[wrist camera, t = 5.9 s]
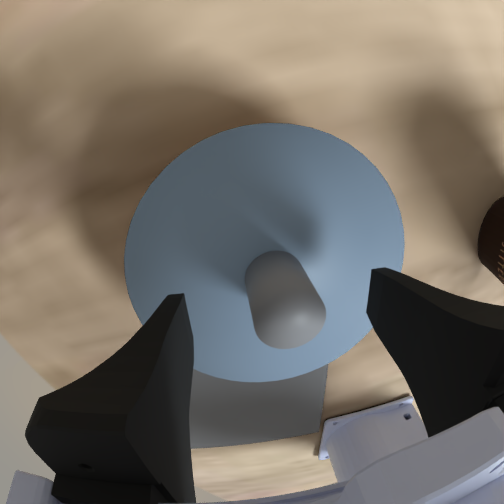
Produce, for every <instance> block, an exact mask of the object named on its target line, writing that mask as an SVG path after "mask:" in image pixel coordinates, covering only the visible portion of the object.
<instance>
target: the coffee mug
mask: <svg viewBox="0 0 504 504" xmlns="http://www.w3.org/2000/svg"><path fill="white" fill-rule="evenodd" d="M478 255H479V258H480V260H481V262H482V264H483V265H484V266H485V267H487V268H488V269H489V270H490V271H491V272H492V273H493V274H494V275H495V276H496V277H497V278H498V279H499V280H500V281H501V282H502V283H503V284H504V197H502V198H500V199H499V200H497V201H496V202H495V203H494V204H493V205H492V206H491V208H490V209H489V211H488V212H487V214H486V216H485V218H484V220H483V223H482V226H481V229H480V233H479V238H478Z"/></svg>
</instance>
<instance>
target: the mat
mask: <svg viewBox="0 0 504 504" xmlns="http://www.w3.org/2000/svg"><path fill="white" fill-rule="evenodd" d="M327 370H328V364H326V365H324V366H322V367H320V368H318V369H316V370H313V371H311V372H308V373H306V374H302V375H299V376H296V377H292V378H288V379H283V380H278V381H268V382H240V381H231V380H226V379H222V378H217V377H214V376H211V375H208V374H205V373H202V372H199V371H197V370H195V369H193V377H192V387H191V397H190V409H189V426H190V446H191V449H194V448H210V447H223V446H233V445H243V444H251V443H258V442H266V441H272V440H278V439H284V438H290V437H296V436H301V435H306V434H311V433H316V432H319V428H320V422H321V415H322V408H323V401H324V394H325V386H326V378H327Z"/></svg>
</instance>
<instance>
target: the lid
mask: <svg viewBox="0 0 504 504" xmlns="http://www.w3.org/2000/svg"><path fill="white" fill-rule="evenodd" d="M403 256H404V229H403V224H402V218H401V213H400V210H399V207H398V205H397V202H396V199H395V196H394V195H393V193H392V191H391V189H390V187H389V185H388V183H387V181H386V180H385V179H384V177H383V176H382V175H381V173H380V172H379V170H378V169H377V168H376V167H375V166H374V165H373V164H372V163H371V162H370V161H369V160H368V159H367V158H366V157H365V156H364V155H363V154H362V153H360V152H359V151H358V150H356V149H355V148H354V147H352V146H351V145H350V144H348V143H346V142H344V141H343V140H341V139H339V138H337V137H335V136H333V135H331V134H328V133H325V132H322V131H320V130H317V129H314V128H310V127H305V126H300V125H294V124H283V123H261V124H253V125H245V126H240V127H237V128H233V129H229V130H226V131H222V132H220V133H218V134H215V135H213V136H211V137H208V138H206V139H204V140H202V141H200V142H199V143H197V144H195V145H194V146H192V147H191V148H189V149H187V150H186V151H184V152H183V153H182V154H181V155H179V156H178V157H177V158H176V159H175V160H173V161H172V162H171V163H170V164H169V165H168V166H167V167H166V168H165V169H164V170H163V171H162V172H161V173H160V174H159V176H158V177H157V178H156V179H155V180H154V181H153V182H152V184H151V185H150V186H149V188H148V190H147V191H146V193H145V194H144V196H143V197H142V199H141V201H140V202H139V204H138V207H137V209H136V211H135V213H134V216H133V218H132V220H131V224H130V227H129V231H128V235H127V239H126V246H125V255H124V266H125V279H126V284H127V289H128V294H129V297H130V299H131V302H132V305H133V308H134V310H135V312H136V314H137V316H138V318H139V319H140V321H141V323H142V325H144V324H145V323H146V321H147V320H148V319H149V318H150V317H151V315H152V314H153V313H154V312H155V310H156V309H157V308H158V306H159V305H160V304H161V303H162V301H163V300H164V299H165V298H166V296H167V295H170V294H180V293H184V295H185V300H186V305H187V310H188V314H189V319H190V324H191V328H192V333H193V337H194V366H193V369H195V370H197V371H199V372H202V373H205V374H208V375H211V376H214V377H217V378H222V379H226V380H231V381H240V382H268V381H278V380H283V379H288V378H292V377H296V376H299V375H302V374H306V373H308V372H311V371H313V370H316V369H318V368H320V367H322V366H324V365H326V364H328V363H330V362H332V361H334V360H335V359H337V358H338V357H340V356H341V355H343V354H344V353H346V352H347V351H348V350H350V349H351V348H352V347H353V346H355V345H356V344H357V343H358V342H359V341H360V340H361V339H362V338H363V337H364V336H365V335H366V334H367V333H368V332H369V331H370V330H371V329H372V328H373V326H372V324H371V322H370V320H369V318H368V315H367V313H366V309H367V302H368V294H369V286H370V278H371V269H376V268H382V267H386V268H389V269H392V270H395V271H398V272H400V273H401V269H402V264H403Z"/></svg>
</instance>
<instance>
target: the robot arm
mask: <svg viewBox="0 0 504 504" xmlns="http://www.w3.org/2000/svg"><path fill="white" fill-rule="evenodd" d="M366 313H367V315H368V318H369V320H370V322H371V324H372V326H373V328H374V330H375V332H376V334H377V335H378V337H379V338H380V340H381V341H382V343H383V344H384V346H385V348H386V349H387V351H388V352H389V354H390V355H391V357H392V358H393V360H394V361H395V363H396V364H397V366H398V367H399V369H400V370H401V372H402V374H403V376H404V377H405V379H406V381H407V383H408V386H409V388H410V390H411V392H412V394H413V396H414V399H415V401H416V404H417V406H418V409H419V411H420V414H421V417H422V420H423V422H422V420H421V418H420V416H419V415H418V413H417V412H416V410H415V408H414V407H413V405H412V402H413V397H412V396H408V397H405V398H402V399H399V400H396V401H393V402H390V403H386V404H383V405H380V406H377V407H373V408H370V409H366V410H363V411H359V412H355V413H351V414H348V415H344V416H340V417H335V418H331V419H328V420H326V421H325V423H324V428H323V433H322V439H321V444H320V449H319V454H318V458H319V460H324V459H329V458H330V461H331V464H332V467H333V469H334V472H335V475H336V478H337V481H338V483H336V484H332V485H328V486H324V487H319V488H315V489H310V490H306V491H301V492H296V493H290V494H285V495H279V496H272V497H265V498H258V499H250V500H240V501H229V502H214V503H196V497H195V490H194V481H193V471H192V460H191V446H190V426H189V409H190V397H191V387H192V377H193V366H194V337H193V333H192V328H191V324H190V319H189V314H188V310H187V305H186V300H185V295H184V293H180V294H170V295H167V296H166V298H165V299H164V300H163V301H162V303H161V304H160V305H159V306H158V308H157V309H156V310H155V312H154V313H153V314H152V315H151V317H150V318H149V319H148V320H147V321H146V323H145V324H144V325H143V326H142V327H141V328H140V329H139V330H138V331H137V333H136V334H135V335H134V336H133V337H132V338H131V339H130V340H129V341H128V342H127V343H126V344H125V345H124V346H123V347H122V348H121V349H119V350H118V351H117V352H116V353H115V354H114V355H112V356H111V357H110V358H109V359H107V360H106V361H105V362H103V363H102V364H100V365H99V366H98V367H96V368H95V369H94V370H92V371H91V372H89V373H87V374H86V375H84V376H83V377H81V378H79V379H78V380H76V381H74V382H72V383H70V384H68V385H67V386H65V387H63V388H60V389H58V390H56V391H54V392H52V393H49V394H47V395H45V396H42V397H40V398H39V399H38V401H37V404H36V406H35V409H34V411H33V413H32V416H31V418H30V421H29V423H28V426H27V428H26V432H25V437H26V439H27V441H28V444H29V445H30V447H31V448H32V449H33V450H34V452H35V453H36V454H37V455H38V456H39V457H40V458H41V459H42V460H43V461H44V462H45V463H46V464H47V465H48V466H49V467H50V468H51V469H52V470H53V471H54V472H55V473H56V475H55V479H54V482H53V481H51V480H49V479H47V478H44V477H42V476H38V475H34V474H30V473H26V472H23V471H19V470H17V471H16V472H15V475H14V478H13V481H12V484H11V487H10V491H9V494H8V498H7V502H6V504H504V306H499V305H493V304H488V303H483V302H478V301H474V300H470V299H467V298H464V297H460V296H457V295H454V294H451V293H448V292H446V291H443V290H440V289H438V288H435V287H433V286H430V285H428V284H426V283H423V282H421V281H419V280H417V279H414V278H412V277H410V276H407V275H405V274H403V273H400V272H398V271H395V270H392V269H389V268H386V267H382V268H376V269H371V278H370V286H369V294H368V302H367V309H366Z"/></svg>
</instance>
